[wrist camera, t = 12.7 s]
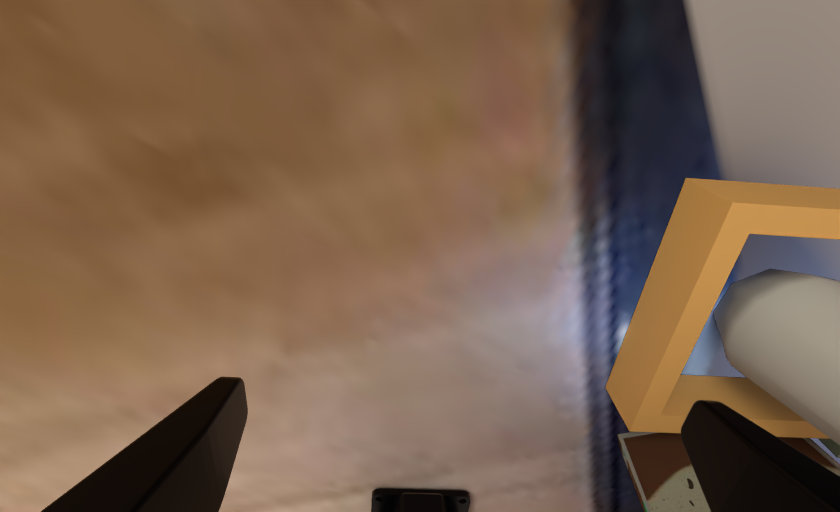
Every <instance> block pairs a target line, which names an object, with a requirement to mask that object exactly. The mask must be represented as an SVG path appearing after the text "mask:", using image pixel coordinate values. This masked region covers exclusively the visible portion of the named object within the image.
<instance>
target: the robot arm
mask: <svg viewBox="0 0 840 512" xmlns="http://www.w3.org/2000/svg"><path fill="white" fill-rule="evenodd" d="M247 414H248V408H247V400H246V393H245V386H244V382H243V380H242V379H241V378H238V377H220V378H218V379H216V380H215V381H213V382H212V383H211V384H209V385H208V386H207V387H205V388H204V389H203V390H201V391H200V392H199V393H197V394H196V395H195V396H193V397H192V398H191V399H189V400H188V401H187V402H185V403H184V404H183V405H181V406H180V407H179V408H178V409H176V410H175V411H174V412H172V413H171V414H170V415H168V416H167V417H166V418H164V419H163V420H162V421H160V422H159V423H158V424H156V425H155V426H154V427H152V428H151V429H150V430H148V431H147V432H146V433H144V434H143V435H142V436H140V437H139V438H138V439H136V440H135V441H134V442H132V443H131V444H130V445H128V446H127V447H126V448H124V449H123V450H122V451H120V452H119V453H118V454H116V455H115V456H114V457H112V458H111V459H110V460H109V461H107V462H106V463H105V464H103V465H102V466H101V467H99V468H98V469H97V470H95V471H94V472H93V473H91V474H90V475H89V476H87V477H86V478H85V479H83V480H82V481H81V482H79V483H78V484H77V485H75V486H74V487H73V488H71V489H70V490H69V491H67V492H66V493H65V494H63V495H62V496H61V497H59V498H58V499H57V500H55V501H54V502H53V503H51V504H50V505H49V506H47V507H46V508H45V509H43V510H42V511H41V512H218V511H219V509H220V506H221V504H222V501H223V498H224V494H225V491H226V488H227V485H228V481H229V478H230V475H231V471H232V468H233V464H234V461H235V458H236V454H237V451H238V448H239V444H240V441H241V437H242V434H243V431H244V427H245V424H246V420H247ZM681 439H682V442H683V445H684V447H685V450H686V452H687V454H688V457H689V459H690V462H691V464H692V467H693V469H694V472H695V474H696V477H697V479H698V481H699V484H700V486H701V489H702V491H703V494H704V496H705V499H706V501H707V503H708V506H709V508H710V510H711V512H840V476H838V475H837V474H835V473H834V472H832V471H830V470H829V469H827V468H826V467H824V466H822V465H821V464H819V463H818V462H816V461H814V460H813V459H811V458H810V457H808V456H806V455H805V454H803V453H802V452H800V451H798V450H797V449H795V448H794V447H792V446H790V445H789V444H787V443H786V442H784V441H782V440H781V439H779V438H778V437H776V436H774V435H773V434H771V433H770V432H768V431H766V430H765V429H763V428H762V427H760V426H758V425H757V424H755V423H754V422H752V421H750V420H749V419H747V418H746V417H744V416H743V415H741V414H739V413H738V412H736V411H735V410H733V409H731V408H730V407H728V406H727V405H725V404H723V403H721V402H719V401H714V400H697V401H696V402H695V403H694V404H693V405H692V407H691V409H690V411H689V413H688V415H687V417H686V419H685V421H684V423H683V425H682V427H681ZM469 504H470V496H469V493H468V492H466V491H452V490H416V489H375V490H374V491H373V493H372V509H371V512H468V509H469Z"/></svg>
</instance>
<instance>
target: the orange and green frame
mask: <svg viewBox="0 0 840 512" xmlns="http://www.w3.org/2000/svg"><path fill="white" fill-rule="evenodd" d="M749 234H761V235H778V236H792V237H808V238H823V239H839V240H840V189H835V188H821V187H806V186H792V185H778V184H765V183H750V182H736V181H722V180H708V179H694V178H686V179H685V182H684V184H683V187H682V190H681V192H680V195H679V197H678V200H677V203H676V205H675V208H674V210H673V213H672V216H671V218H670V221H669V223H668V226H667V229H666V231H665V234H664V236H663V239H662V242H661V244H660V247H659V249H658V252H657V254H656V257H655V260H654V262H653V265H652V267H651V270H650V273H649V275H648V278H647V280H646V283H645V286H644V288H643V291H642V293H641V296H640V299H639V301H638V304H637V306H636V309H635V312H634V314H633V317H632V319H631V322H630V325H629V327H628V330H627V332H626V335H625V338H624V340H623V343H622V345H621V348H620V351H619V353H618V356H617V358H616V361H615V364H614V366H613V369H612V371H611V374H610V377H609V379H608V382H607V384H606V387H605V388H606V390H607V391H608V393H609V395H610V397H611V399H612V401H613V402H614V404H615V406H616V408H617V410H618V411H619V413H620V415H621V417H622V419H623V421H624V422H625V424H626V426H627V428H628V430H629V431H632V432H659V433H681V427H682V425H683V423H684V421H685V419H686V417H687V415H688V413H689V411H690V409H691V407H692V405H693V404H694V403H695V402H696V401H697V400H714V401H719V402H721V403H723V404H725V405H727V406H728V407H730V408H731V409H733V410H735V411H736V412H738V413H739V414H741V415H743V416H744V417H746V418H747V419H749V420H750V421H752V422H754V423H755V424H757V425H758V426H760V427H762V428H763V429H765V430H766V431H768V432H770V433H771V434H773V435H774V436H776V437H796V438H818V439H819V440H820V441H821V442H822V443H823V444H824V445H825V446H826V447H827V448H828V449H829V450H830V451H831V452H832V453H833V454H834V455H835V456H836V457H838V458H840V445H839V444H837V443H836V442H835V441H833V440H832V439H830V438H829V437H828V436H826V435H825V434H824V433H822V432H821V431H819V430H818V429H817V428H815V427H814V426H813V425H811V424H810V423H808V422H807V421H806V420H804V419H803V418H802V417H800V416H799V415H797V414H796V413H795V412H793V411H792V410H791V409H789V408H788V407H786V406H785V405H784V404H782V403H781V402H780V401H778V400H777V399H775V398H774V397H773V396H771V395H770V394H769V393H767V392H766V391H764V390H763V389H762V388H760V387H759V386H758V385H756V384H755V383H753V382H752V381H751V380H749V379H748V378H741V377H719V376H696V375H680V374H681V372H682V370H683V368H684V366H685V364H686V362H687V360H688V358H689V356H690V354H691V352H692V350H693V348H694V346H695V344H696V342H697V340H698V338H699V336H700V334H701V332H702V330H703V327H704V325H705V323H706V321H707V319H708V317H709V315H710V313H711V311H712V309H713V307H714V305H715V303H716V301H717V299H718V297H719V295H720V293H721V291H722V289H723V287H724V285H725V282H726V280H727V278H728V276H729V274H730V272H731V270H732V268H733V266H734V264H735V262H736V260H737V258H738V256H739V254H740V252H741V250H742V248H743V246H744V244H745V242H746V240H747V238H748V235H749Z"/></svg>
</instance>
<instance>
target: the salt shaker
mask: <svg viewBox="0 0 840 512" xmlns="http://www.w3.org/2000/svg"><path fill="white" fill-rule="evenodd" d="M713 315H714V318H715V321H716V324H717V327H718V329H719V332H720V335H721V338H722V342H723V346H724V351H725V354H726V358H727V359H728V361H729V362H730V364H731V365H732V366H733V367H734V368H735V369H737V370H738V371H739V372H741V373H742V374H743V375H744V376H745V377H747V378H748V379H749V380H751V381H752V382H753V383H755V384H756V385H758V386H759V387H760V388H762V389H763V390H764V391H766V392H767V393H769V394H770V395H771V396H773V397H774V398H775V399H777V400H778V401H780V402H781V403H782V404H784V405H785V406H786V407H788V408H789V409H791V410H792V411H793V412H795V413H796V414H797V415H799V416H800V417H802V418H803V419H804V420H806V421H807V422H808V423H810V424H811V425H813V426H814V427H815V428H817V429H818V430H819V431H821V432H822V433H824V434H825V435H826V436H828V437H829V438H830V439H832V440H833V441H835V442H836V443H837V444H839V445H840V282H839V281H837V280H834V279H829V278H824V277H820V276H814V275H810V274H803V273H796V272H789V271H783V270H776V269H768V270H765V271H763V272H760V273H757V274H755V275H753V276H750V277H747V278H745V279H742V280H740V281H737V282H734V283H732V284H731V285H730V287H729V288H728V290H727V292H726V293H725V295H724V296H723V298H722V299H721V301H720V303H719V304H718V306H717V307H716V309H715V311H714V312H713Z"/></svg>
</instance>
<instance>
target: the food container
mask: <svg viewBox="0 0 840 512" xmlns="http://www.w3.org/2000/svg"><path fill="white" fill-rule="evenodd" d="M617 435H618V442H619V447H620V450H621V452H622V455H623V458H624V460H625V463H626V466H627V468H628V471H629V474H630V476H631V479H632V481H633V484H634V487H635V489H636V492H637V495H638V497H639V500H640V502H641V505H642V508H643V510H644V512H711V510H710V508H709V506H708V503H707V501H706V499H705V496H704V494H703V491H702V489H701V486H700V484H699V481H698V479H697V477H696V474H695V472H694V469H693V467H692V464H691V462H690V459H689V457H688V454H687V452H686V450H685V447H684V445H683V442H682V439H681V433H659V432H629V433H623V434H617ZM778 438H779V439H781V440H782V441H784V442H786V443H787V444H789V445H790V446H792V447H794V448H795V449H797V450H798V451H800V452H802V453H803V454H805V455H806V456H808V457H810V458H811V459H813V460H814V461H816V462H818V463H819V464H821V465H822V466H824V467H826V468H827V469H829V470H830V471H832V472H834V473H835V474H837V475H838V476H840V464H839V463H837V462H836V461H835V460H834V459H833V458H832V457H831V456H829V455H828V454H827V453H826V452H825V451H824V450H823V449H822V448H820V447H819V446H818V445H817V444H816V443H815V442H814V441H813V440H811V439H810V438H796V437H778Z"/></svg>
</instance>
